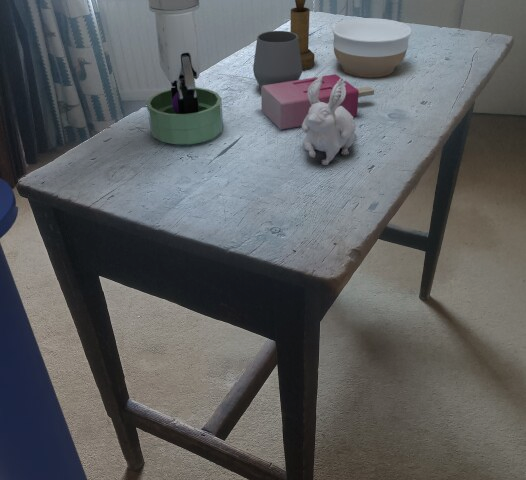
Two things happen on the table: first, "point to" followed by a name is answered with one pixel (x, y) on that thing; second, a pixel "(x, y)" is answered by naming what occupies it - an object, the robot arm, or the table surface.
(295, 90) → the popsicle
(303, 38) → the wooden pepper mill
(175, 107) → the ball
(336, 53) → the bowl
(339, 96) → the figurine
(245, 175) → the table surface
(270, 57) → the cup
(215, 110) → the green bowl
